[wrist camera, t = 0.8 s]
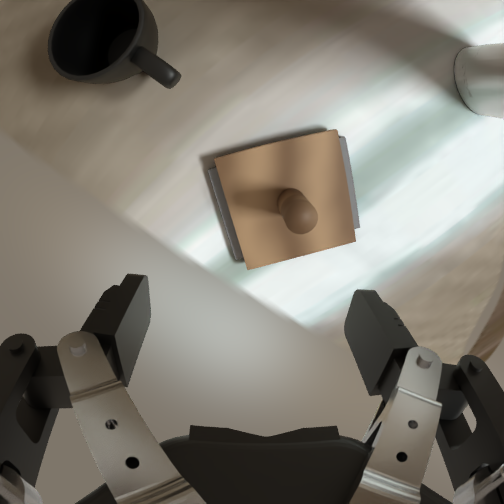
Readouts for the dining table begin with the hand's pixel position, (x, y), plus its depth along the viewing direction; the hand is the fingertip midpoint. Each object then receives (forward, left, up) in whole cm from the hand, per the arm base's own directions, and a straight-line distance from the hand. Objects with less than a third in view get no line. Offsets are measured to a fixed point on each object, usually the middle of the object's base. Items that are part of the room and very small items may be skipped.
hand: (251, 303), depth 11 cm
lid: (-4, +3, -20) cm, 21 cm away
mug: (+6, -15, -21) cm, 27 cm away
